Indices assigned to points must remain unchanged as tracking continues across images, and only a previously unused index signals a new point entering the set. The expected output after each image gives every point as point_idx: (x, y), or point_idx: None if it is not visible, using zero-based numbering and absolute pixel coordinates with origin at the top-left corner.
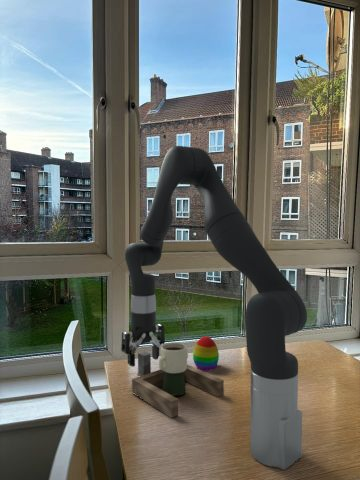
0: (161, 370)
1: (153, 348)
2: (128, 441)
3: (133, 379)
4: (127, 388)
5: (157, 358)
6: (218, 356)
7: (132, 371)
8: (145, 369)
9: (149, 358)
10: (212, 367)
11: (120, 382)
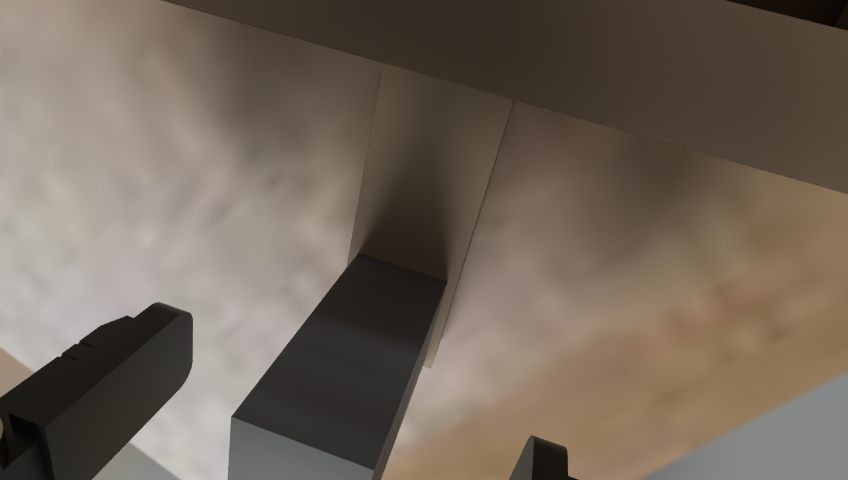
0: (398, 14)
1: (79, 464)
2: None
3: None
4: (728, 287)
5: (164, 308)
6: None
7: None
8: (408, 310)
9: (290, 371)
10: None
11: (628, 407)
